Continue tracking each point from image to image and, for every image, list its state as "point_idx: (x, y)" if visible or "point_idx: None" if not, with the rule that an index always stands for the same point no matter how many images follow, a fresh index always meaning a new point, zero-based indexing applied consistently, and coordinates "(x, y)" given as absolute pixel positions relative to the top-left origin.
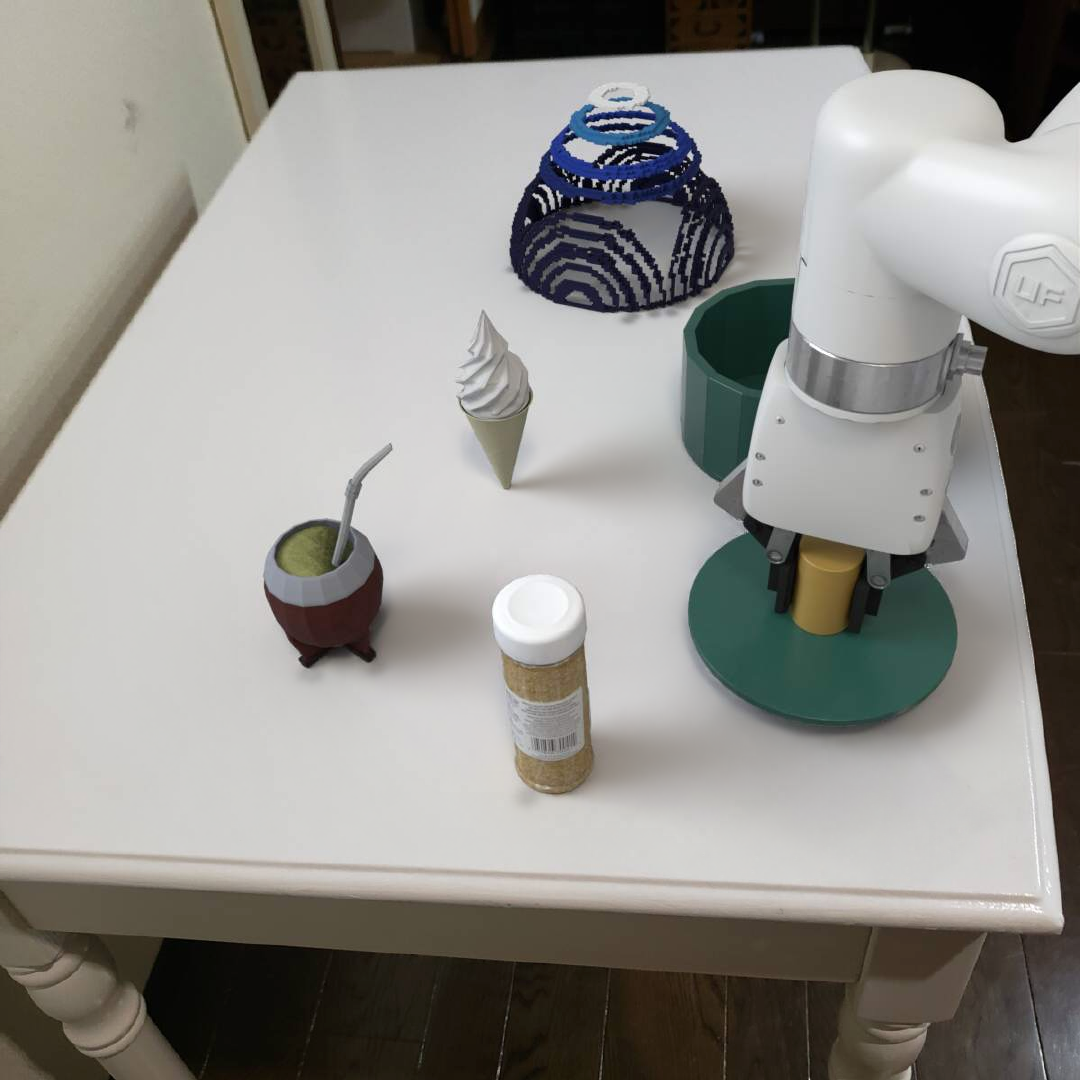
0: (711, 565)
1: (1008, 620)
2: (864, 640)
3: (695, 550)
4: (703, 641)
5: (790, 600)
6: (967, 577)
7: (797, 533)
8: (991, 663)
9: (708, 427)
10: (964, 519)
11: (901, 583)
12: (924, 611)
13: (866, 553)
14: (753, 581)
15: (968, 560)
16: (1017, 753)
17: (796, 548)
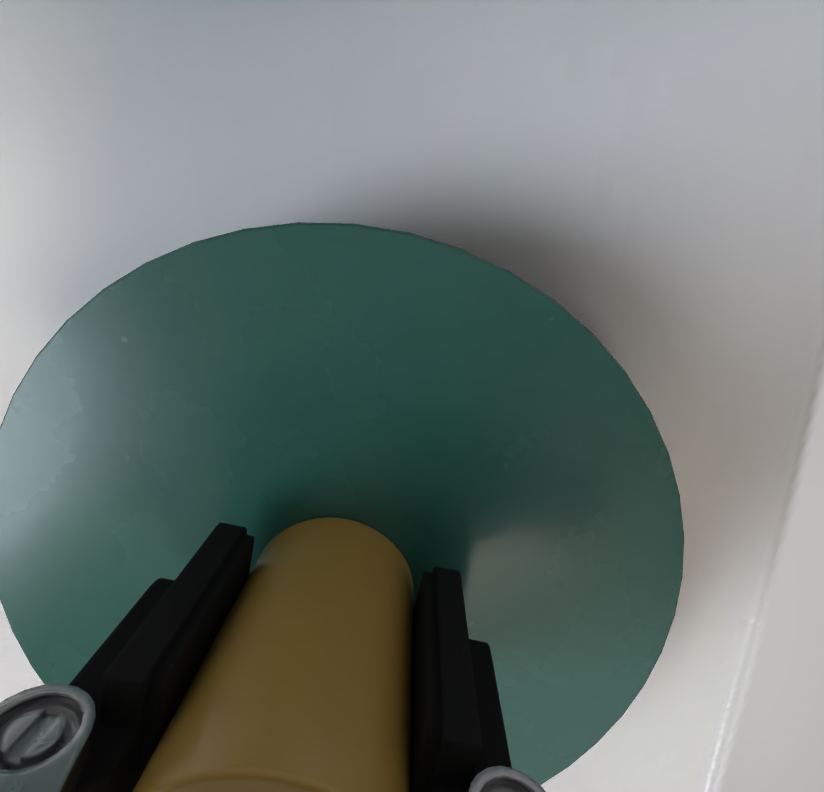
0: (14, 458)
1: (793, 419)
2: None
3: (25, 260)
4: None
5: None
6: (734, 284)
7: (91, 789)
8: (717, 540)
9: None
10: (792, 23)
11: (557, 466)
12: (604, 557)
13: (428, 740)
14: (145, 501)
15: (754, 216)
16: (707, 719)
17: (133, 767)
